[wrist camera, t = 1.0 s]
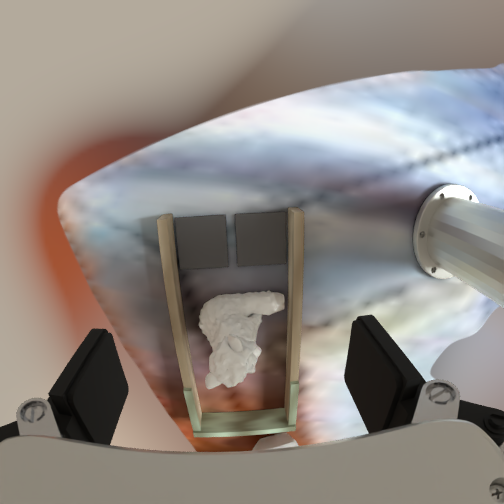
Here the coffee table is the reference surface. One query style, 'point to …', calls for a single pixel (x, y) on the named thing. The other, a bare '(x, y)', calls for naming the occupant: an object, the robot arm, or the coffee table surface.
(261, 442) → the figurine
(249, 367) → the sitting furry creature
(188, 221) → the mats
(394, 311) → the coffee table surface
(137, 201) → the coffee table surface
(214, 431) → the lane
